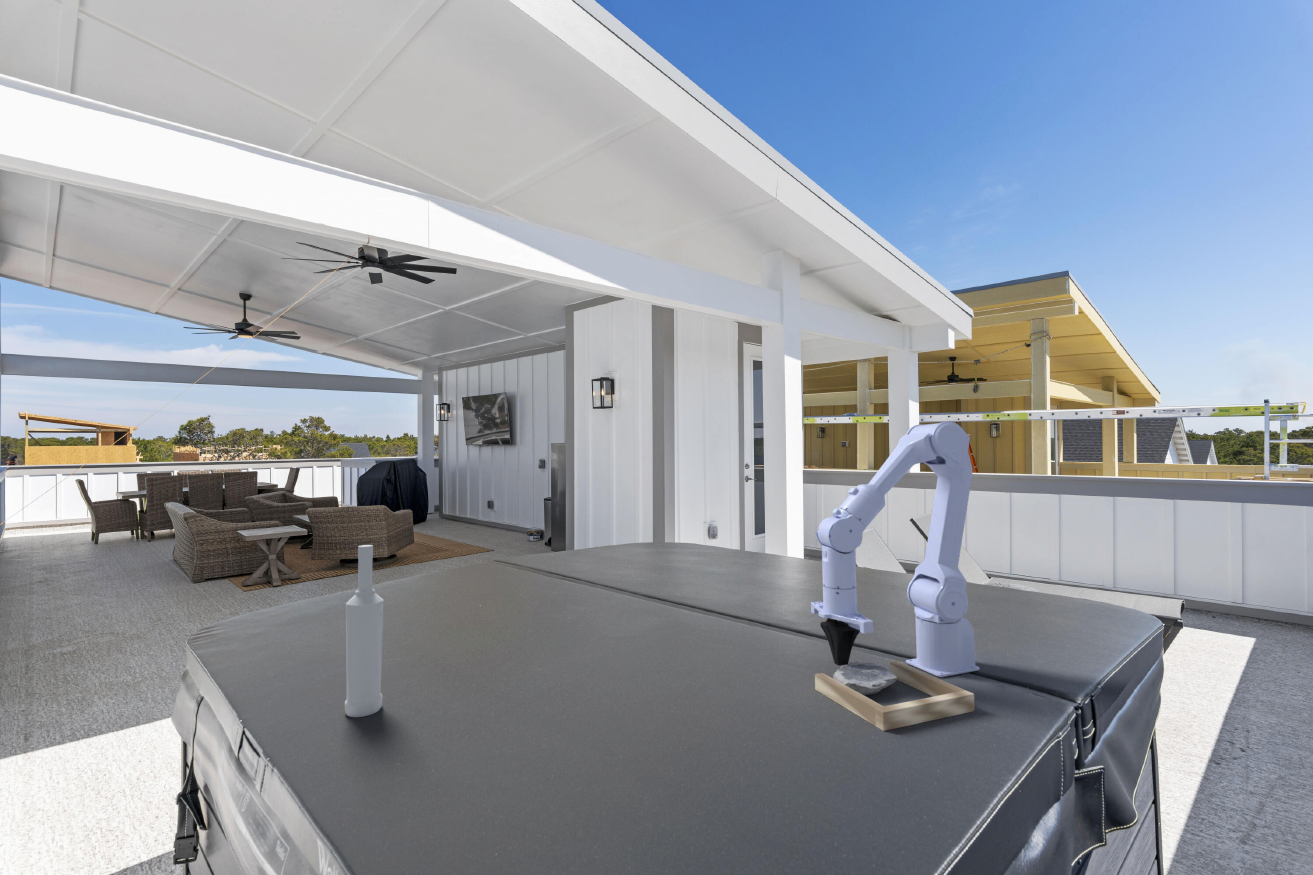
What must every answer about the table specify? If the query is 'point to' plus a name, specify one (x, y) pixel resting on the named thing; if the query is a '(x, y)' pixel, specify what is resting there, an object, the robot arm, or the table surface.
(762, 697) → the table surface
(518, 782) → the table surface
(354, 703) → the bottle
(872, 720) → the bay
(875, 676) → the fossil
